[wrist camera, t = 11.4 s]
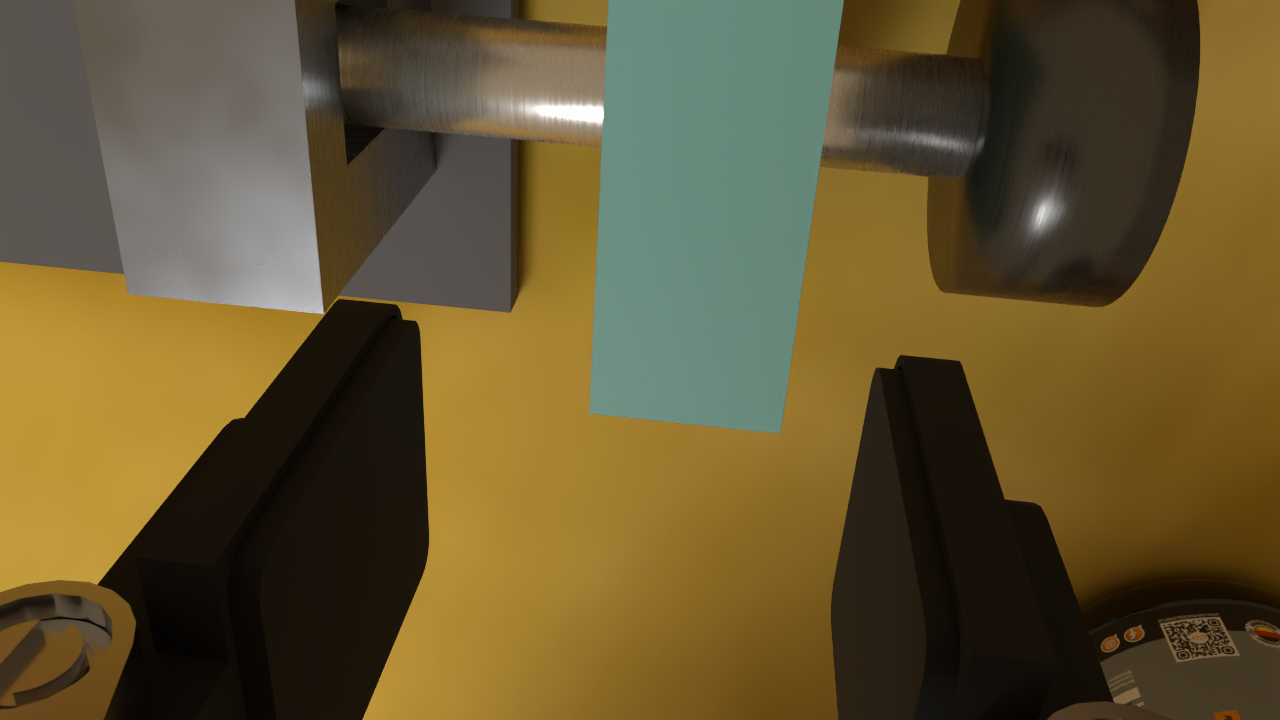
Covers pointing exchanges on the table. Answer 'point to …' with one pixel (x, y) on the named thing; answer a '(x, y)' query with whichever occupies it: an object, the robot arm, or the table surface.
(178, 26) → the bracket
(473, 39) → the shaft
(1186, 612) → the supplement container
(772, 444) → the table surface
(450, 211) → the base plate
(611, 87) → the spacer
